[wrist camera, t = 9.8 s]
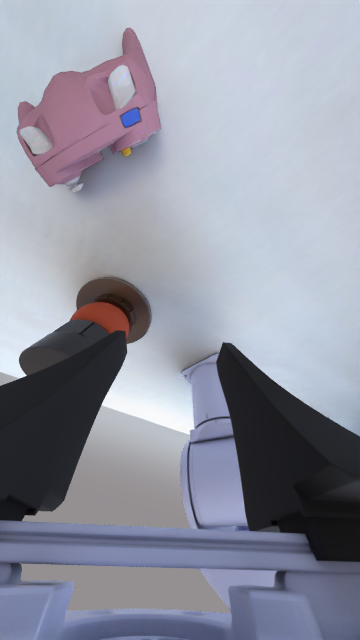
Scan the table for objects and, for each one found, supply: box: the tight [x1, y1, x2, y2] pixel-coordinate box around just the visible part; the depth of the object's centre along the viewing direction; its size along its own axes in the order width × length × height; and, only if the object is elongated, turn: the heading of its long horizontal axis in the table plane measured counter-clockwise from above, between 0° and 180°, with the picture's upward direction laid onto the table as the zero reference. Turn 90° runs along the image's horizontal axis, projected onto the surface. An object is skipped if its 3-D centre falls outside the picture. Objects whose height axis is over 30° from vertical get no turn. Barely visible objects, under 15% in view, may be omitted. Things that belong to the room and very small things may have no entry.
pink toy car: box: [17, 28, 161, 192], centre depth 9 cm, size 10×5×7 cm, turn 108°
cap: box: [19, 319, 109, 376], centre depth 12 cm, size 5×5×4 cm
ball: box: [70, 302, 129, 338], centre depth 16 cm, size 6×6×6 cm
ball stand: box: [76, 277, 151, 344], centre depth 18 cm, size 10×10×2 cm
